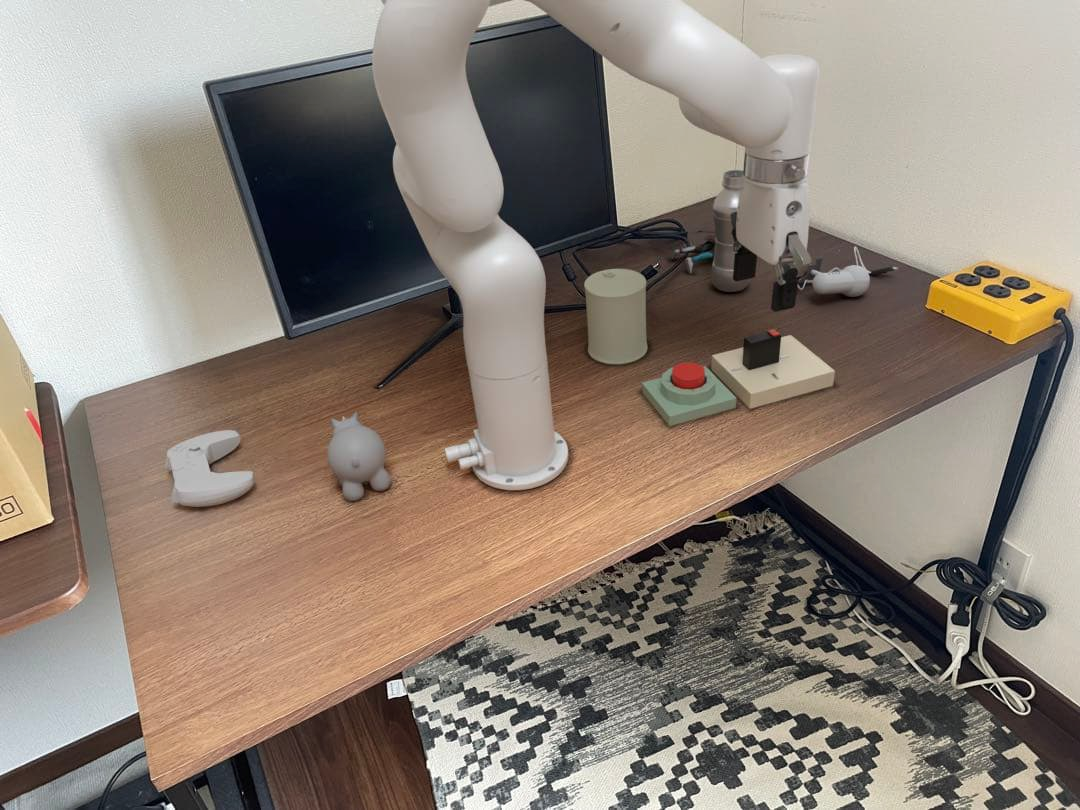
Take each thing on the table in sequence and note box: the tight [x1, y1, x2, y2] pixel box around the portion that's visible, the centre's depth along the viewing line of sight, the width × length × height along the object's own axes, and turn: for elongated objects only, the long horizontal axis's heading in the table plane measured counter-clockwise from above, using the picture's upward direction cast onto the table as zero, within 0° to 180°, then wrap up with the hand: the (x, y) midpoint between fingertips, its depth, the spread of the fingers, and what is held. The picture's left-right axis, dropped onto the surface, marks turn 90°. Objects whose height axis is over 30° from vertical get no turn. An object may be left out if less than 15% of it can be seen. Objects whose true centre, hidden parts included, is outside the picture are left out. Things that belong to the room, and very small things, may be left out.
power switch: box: [641, 365, 738, 427], centre depth 112 cm, size 10×9×4 cm
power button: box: [672, 361, 705, 389], centre depth 110 cm, size 4×4×2 cm
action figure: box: [669, 229, 716, 275], centre depth 147 cm, size 8×6×18 cm
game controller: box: [164, 429, 255, 508], centre depth 106 cm, size 14×4×10 cm
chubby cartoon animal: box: [326, 411, 392, 502], centre depth 103 cm, size 7×12×8 cm, turn 21°
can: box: [583, 268, 648, 365], centre depth 122 cm, size 9×9×12 cm
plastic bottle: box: [710, 169, 751, 293], centre depth 133 cm, size 6×7×20 cm
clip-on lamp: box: [782, 246, 899, 298], centre depth 134 cm, size 12×6×18 cm
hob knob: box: [742, 328, 782, 370], centre depth 113 cm, size 5×2×5 cm, turn 109°
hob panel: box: [710, 334, 836, 410], centre depth 114 cm, size 13×11×3 cm
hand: (762, 293), depth 107 cm, fingers open, 9 cm apart
